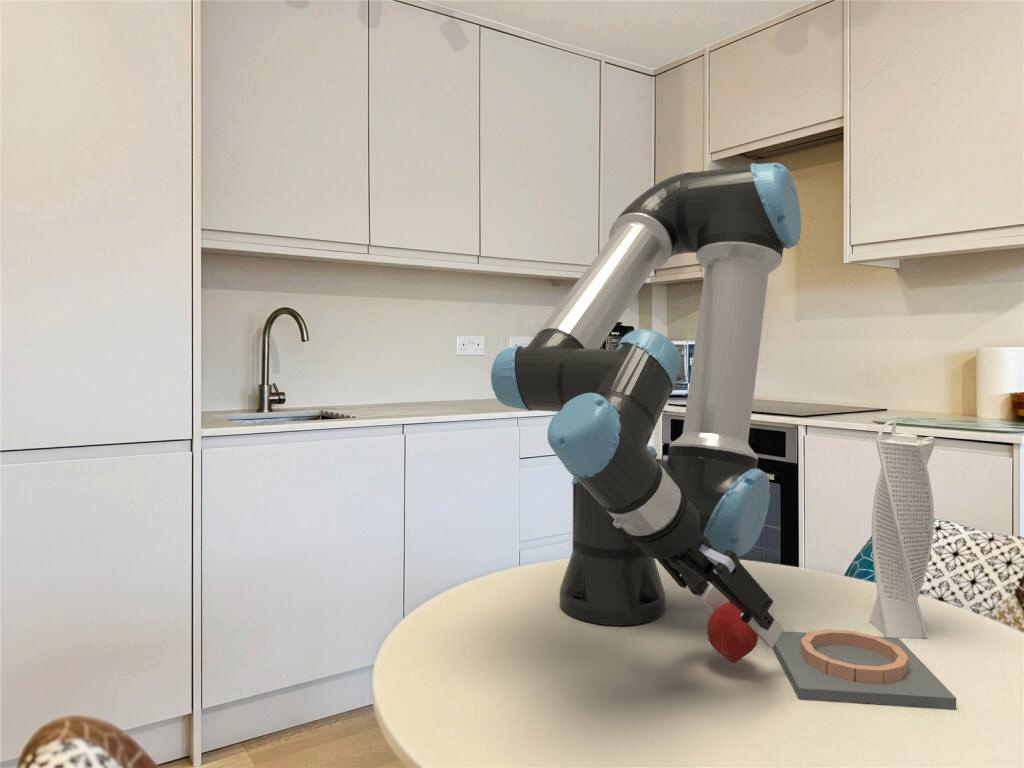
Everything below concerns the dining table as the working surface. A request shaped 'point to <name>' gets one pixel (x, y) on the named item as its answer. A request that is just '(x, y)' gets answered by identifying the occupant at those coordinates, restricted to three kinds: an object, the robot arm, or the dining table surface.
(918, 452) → the skyscraper
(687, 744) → the dining table surface
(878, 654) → the dock
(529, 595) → the dining table surface
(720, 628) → the red rounded fruit
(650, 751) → the dining table surface
